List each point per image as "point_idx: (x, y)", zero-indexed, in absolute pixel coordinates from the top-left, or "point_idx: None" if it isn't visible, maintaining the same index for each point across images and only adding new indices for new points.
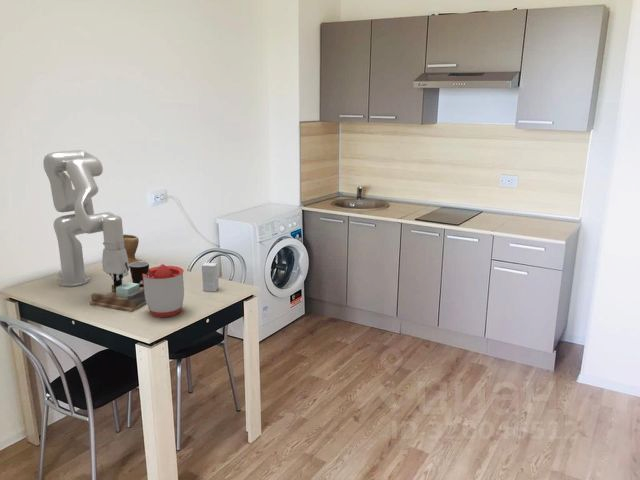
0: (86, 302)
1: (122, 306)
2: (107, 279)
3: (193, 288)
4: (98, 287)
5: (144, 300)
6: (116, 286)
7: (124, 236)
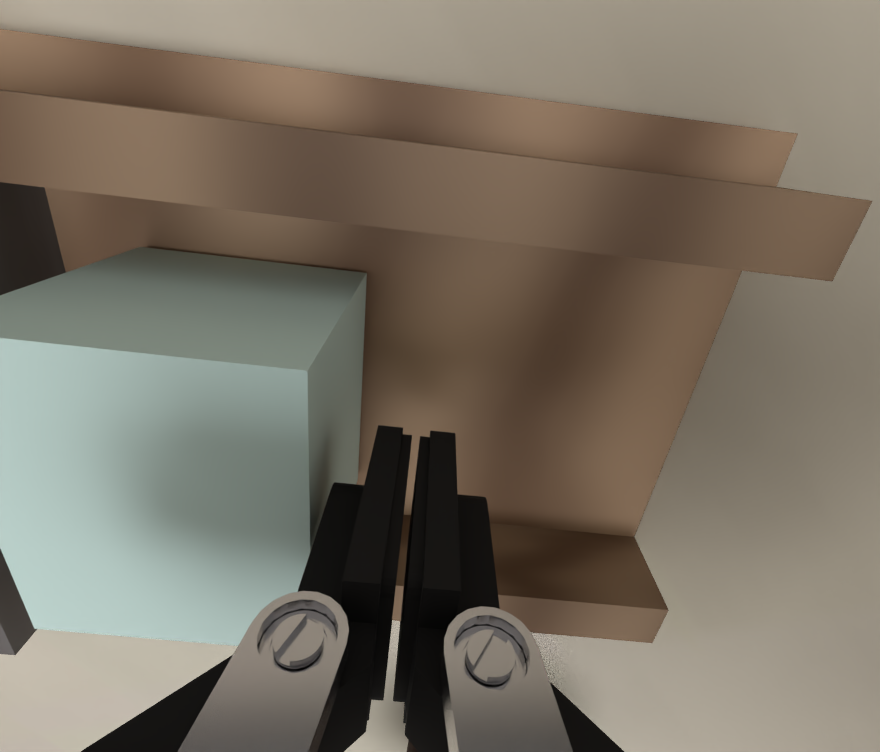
0: None
1: (147, 105)
2: (825, 747)
3: (18, 729)
4: (851, 618)
5: None
6: (386, 459)
7: None
